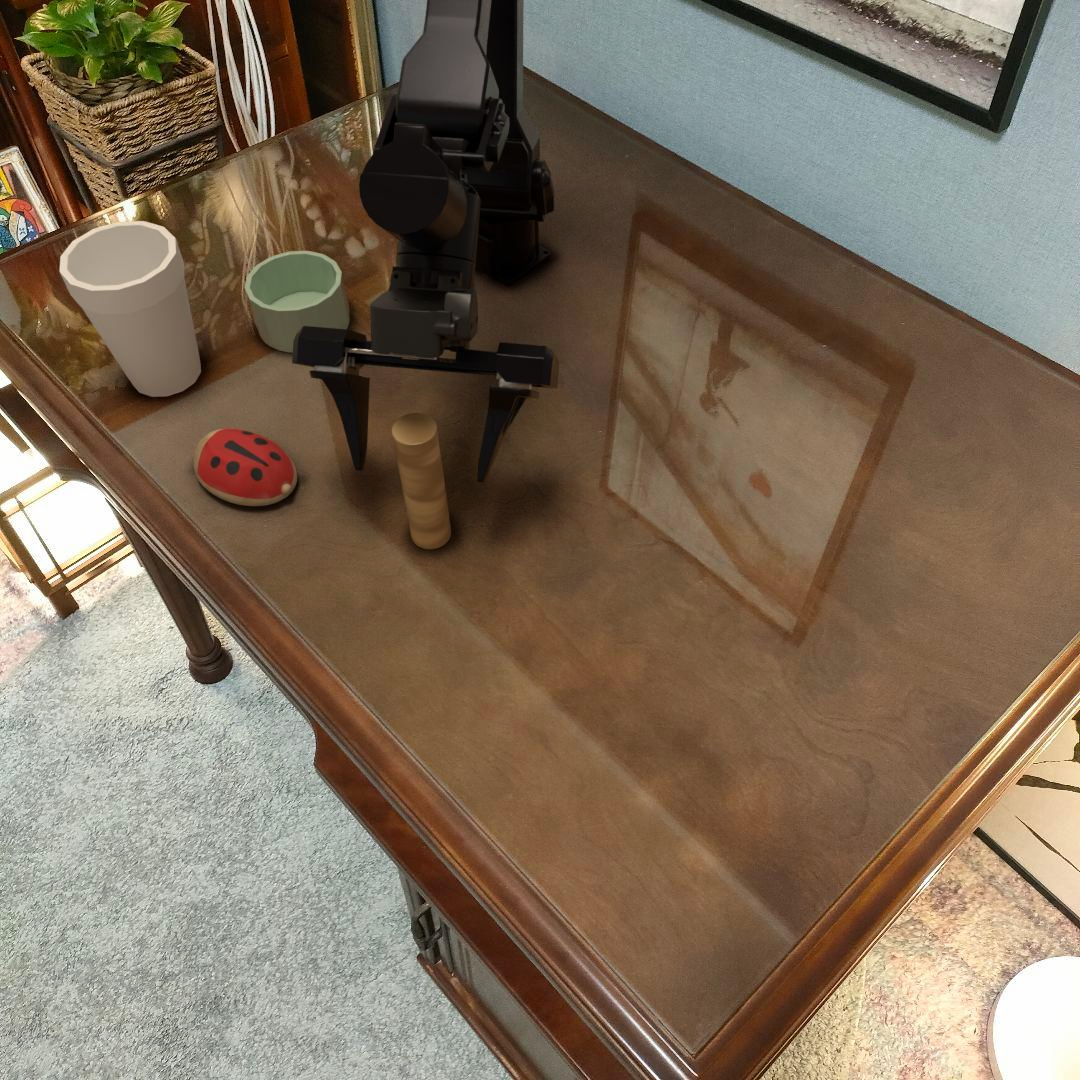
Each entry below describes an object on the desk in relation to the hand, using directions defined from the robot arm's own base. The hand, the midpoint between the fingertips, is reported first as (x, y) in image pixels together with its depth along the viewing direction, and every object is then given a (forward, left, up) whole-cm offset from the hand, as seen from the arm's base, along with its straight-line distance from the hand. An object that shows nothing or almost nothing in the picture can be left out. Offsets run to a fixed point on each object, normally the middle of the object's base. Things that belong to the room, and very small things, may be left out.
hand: (419, 476), depth 75 cm
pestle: (0, 0, -7) cm, 8 cm away
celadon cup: (-10, -28, -7) cm, 31 cm away
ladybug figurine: (+6, -16, -8) cm, 19 cm away
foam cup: (+3, -32, -8) cm, 33 cm away
